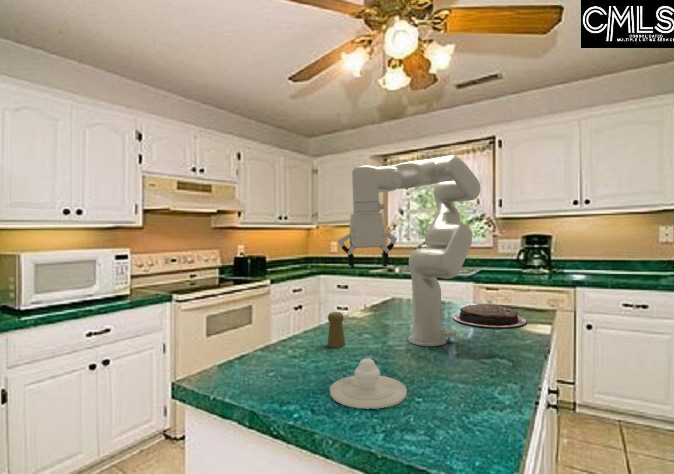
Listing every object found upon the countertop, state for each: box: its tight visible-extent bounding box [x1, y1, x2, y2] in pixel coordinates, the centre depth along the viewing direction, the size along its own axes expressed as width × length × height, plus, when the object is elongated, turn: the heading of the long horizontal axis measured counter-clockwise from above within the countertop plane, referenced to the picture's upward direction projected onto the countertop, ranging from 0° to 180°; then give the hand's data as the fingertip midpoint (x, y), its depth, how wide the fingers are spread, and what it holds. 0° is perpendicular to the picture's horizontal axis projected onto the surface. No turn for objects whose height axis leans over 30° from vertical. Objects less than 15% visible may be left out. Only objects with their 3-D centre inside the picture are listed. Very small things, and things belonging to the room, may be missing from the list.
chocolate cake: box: [453, 303, 527, 330], centre depth 166 cm, size 28×28×7 cm
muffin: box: [353, 358, 381, 390], centre depth 96 cm, size 6×6×7 cm
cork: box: [326, 311, 346, 349], centre depth 136 cm, size 6×6×11 cm
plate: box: [329, 375, 407, 409], centre depth 96 cm, size 18×18×1 cm
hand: (368, 267), depth 120 cm, fingers open, 9 cm apart
